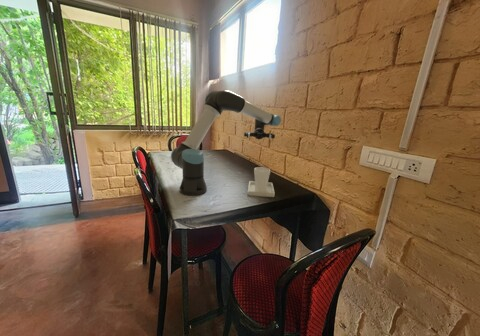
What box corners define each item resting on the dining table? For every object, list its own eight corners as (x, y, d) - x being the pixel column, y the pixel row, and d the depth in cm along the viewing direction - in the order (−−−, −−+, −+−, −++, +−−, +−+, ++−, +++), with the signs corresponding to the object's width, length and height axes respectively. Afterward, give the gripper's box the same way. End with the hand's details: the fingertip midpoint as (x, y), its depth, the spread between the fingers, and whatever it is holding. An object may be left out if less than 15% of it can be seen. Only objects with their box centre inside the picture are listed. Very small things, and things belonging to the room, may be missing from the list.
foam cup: (267, 194, 116) (269, 172, 112) (251, 192, 117) (253, 170, 114) (268, 188, 125) (270, 168, 121) (254, 186, 126) (255, 166, 123)
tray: (247, 195, 114) (247, 191, 113) (248, 184, 131) (249, 181, 131) (274, 197, 113) (274, 193, 112) (272, 186, 130) (272, 182, 130)
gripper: (275, 140, 147) (279, 143, 126) (241, 137, 149) (239, 141, 128) (277, 129, 145) (280, 131, 125) (242, 127, 147) (240, 129, 126)
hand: (259, 136), depth 126 cm, fingers open, 13 cm apart
